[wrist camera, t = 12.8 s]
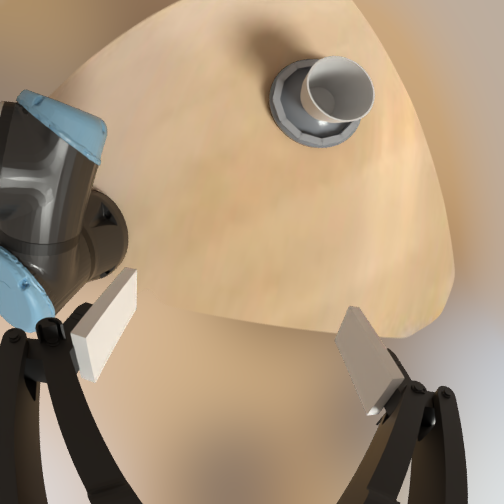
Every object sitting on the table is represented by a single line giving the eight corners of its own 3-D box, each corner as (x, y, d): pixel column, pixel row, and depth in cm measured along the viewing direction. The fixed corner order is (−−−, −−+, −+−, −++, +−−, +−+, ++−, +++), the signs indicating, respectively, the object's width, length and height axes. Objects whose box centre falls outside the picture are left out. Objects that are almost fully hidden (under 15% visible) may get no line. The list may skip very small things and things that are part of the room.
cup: (354, 115, 35) (386, 106, 25) (309, 137, 36) (331, 133, 27) (327, 69, 32) (351, 47, 23) (280, 90, 34) (292, 70, 24)
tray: (259, 134, 37) (260, 133, 35) (279, 51, 32) (281, 46, 30) (348, 158, 38) (354, 159, 36) (365, 79, 34) (371, 76, 32)
